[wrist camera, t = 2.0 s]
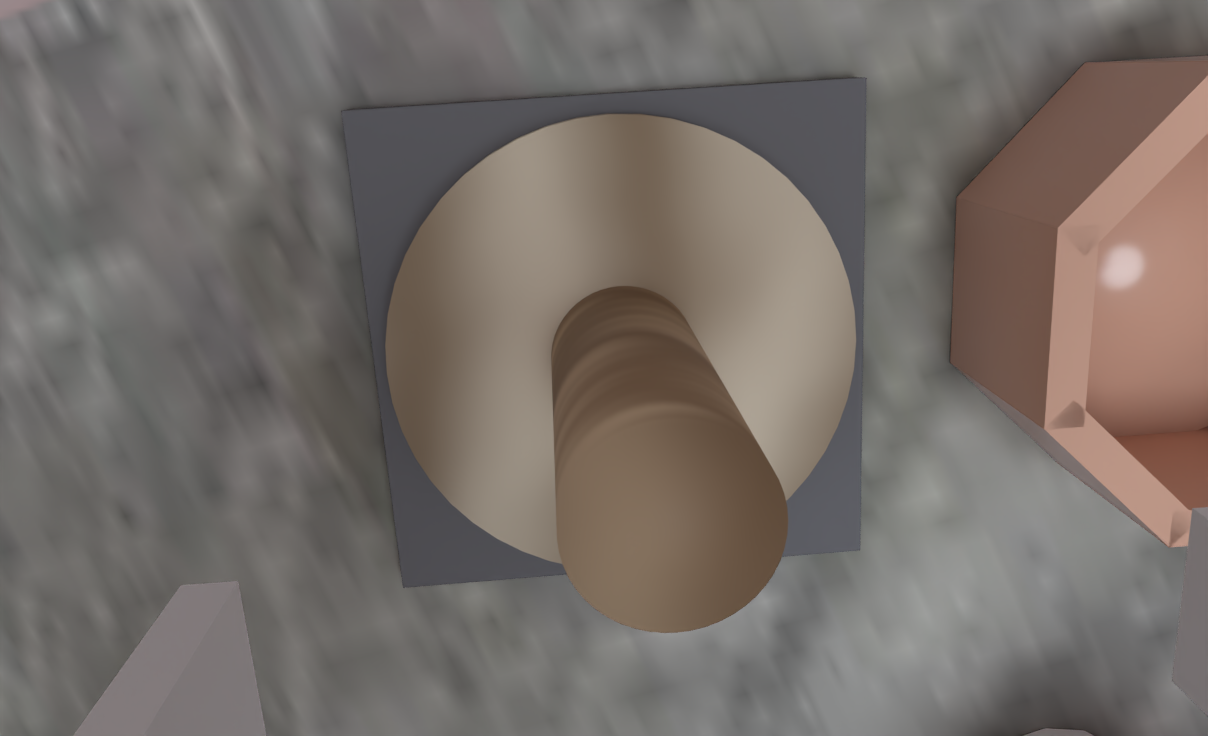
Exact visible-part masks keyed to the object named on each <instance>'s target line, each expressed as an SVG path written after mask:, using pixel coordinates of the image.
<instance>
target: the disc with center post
mask: <svg viewBox="0 0 1208 736" xmlns="http://www.w3.org/2000/svg"><path fill="white" fill-rule="evenodd" d="M385 349H386V366H387V377H388V382H389V388H390V393H391V398H392V403H393V406H394V409H395V412H396V415H397V418H398V421H399V424H400V427H401V430H402V432H403V434H404V436H405V438H406V440H407V442H408V444H409V446H410V448H411V450H412V452H413V454H414V456H415V458H416V460H417V461H418V463H419V464H420V466H421V467H422V469H423V470H424V471H425V473H426V474H427V476H428V477H429V479H430V480H431V482H432V483H433V484H434V485H435V486H436V487H437V489H438V490H439V491H440V492H441V493H442V494H443V495H444V496H445V498H446V499H447V500H448V501H449V502H450V503H451V504H452V505H453V506H454V507H455V508H456V509H458V510H459V511H460V512H461V513H462V514H463V515H465V516H466V517H467V518H468V519H469V520H470V521H471V522H473V523H474V524H476V525H477V526H479V527H480V528H482V529H483V530H485V531H486V532H488V533H489V534H491V535H492V536H494V537H495V538H497V539H498V540H500V541H502V542H504V543H507V544H509V545H511V546H513V547H515V548H517V549H519V550H521V551H523V552H525V553H528V554H531V555H534V556H537V557H540V558H542V559H545V560H548V561H552V562H556V563H561V564H563V567H564V569H565V571H566V573H567V575H568V578H569V579H570V581H571V582H572V584H573V585H574V587H575V588H576V590H577V591H578V592H579V593H580V595H581V596H582V597H583V598H584V599H585V600H586V601H587V602H588V603H589V604H590V605H591V606H593V607H594V608H595V609H596V610H597V611H599V612H600V613H602V614H604V615H605V616H607V617H608V618H610V619H612V620H614V621H616V622H618V623H620V624H623V625H626V626H629V627H632V628H635V629H639V630H644V631H649V632H660V633H674V632H684V631H691V630H695V629H699V628H703V627H707V626H709V625H712V624H714V623H717V622H719V621H722V620H723V619H725V618H727V617H729V616H731V615H733V614H734V613H736V612H737V611H739V610H740V609H742V608H743V607H744V606H746V605H747V604H748V603H749V602H750V601H751V600H753V599H754V598H755V597H756V596H757V595H758V594H759V592H760V591H761V590H762V589H763V588H764V587H765V586H766V584H767V583H768V581H769V580H770V578H771V577H772V575H773V574H774V572H775V570H776V568H777V566H778V564H779V562H780V560H781V557H782V554H783V551H784V548H785V544H786V539H787V534H788V510H787V503H786V501H787V500H788V499H789V498H790V497H791V496H792V495H793V493H794V492H795V491H796V490H797V489H798V488H799V486H800V485H801V484H802V483H803V482H804V481H805V480H806V478H807V477H808V476H809V475H810V473H811V472H812V470H813V469H814V467H815V466H816V464H817V463H818V461H819V460H820V458H821V457H822V455H823V454H824V452H825V451H826V449H827V447H828V445H829V443H830V441H831V439H832V437H833V435H834V433H835V431H836V429H837V427H838V425H839V422H840V419H841V416H842V413H843V410H844V408H845V405H846V402H847V399H848V395H849V390H850V386H851V381H852V376H853V372H854V362H855V350H856V327H855V310H854V305H853V300H852V295H851V290H850V284H849V280H848V277H847V274H846V271H845V268H844V265H843V262H842V260H841V257H840V254H839V251H838V249H837V247H836V245H835V244H834V242H833V240H832V238H831V236H830V234H829V232H828V230H827V228H826V226H825V224H824V223H823V221H822V220H821V218H820V217H819V216H818V214H817V213H816V211H815V210H814V208H813V207H812V205H811V204H810V203H809V201H808V200H807V199H806V198H805V197H804V196H803V194H802V193H801V192H800V191H799V190H798V189H797V188H796V187H795V186H794V185H793V184H792V182H791V181H790V180H789V179H788V178H787V177H786V176H784V175H783V174H782V173H781V172H780V171H778V170H777V169H776V168H775V167H773V166H772V165H771V164H770V163H769V162H767V161H766V160H765V159H764V158H762V157H761V156H759V155H757V154H756V153H754V152H753V151H751V150H749V149H748V148H746V147H744V146H743V145H741V144H740V143H738V142H736V141H734V140H732V139H730V138H727V137H725V136H723V135H720V134H718V133H716V132H714V131H711V130H709V129H707V128H704V127H701V126H697V125H694V124H690V123H687V122H683V121H680V120H676V119H673V118H667V117H660V116H653V115H646V114H610V113H608V114H600V115H593V116H585V117H577V118H573V119H569V120H566V121H562V122H558V123H555V124H551V125H547V126H544V127H542V128H540V129H537V130H535V131H533V132H530V133H528V134H525V135H523V136H521V137H518V138H516V139H514V140H513V141H511V142H509V143H508V144H506V145H504V146H503V147H501V148H499V149H498V150H496V151H494V152H492V153H491V154H489V155H488V156H487V157H485V158H484V159H483V160H481V161H480V162H479V163H478V164H476V165H475V166H474V167H473V168H471V169H470V170H469V171H468V172H466V173H465V174H464V175H463V176H462V177H461V178H460V179H459V180H458V181H457V182H456V183H455V184H454V185H453V186H452V187H451V188H450V190H449V191H448V192H447V193H446V194H445V195H444V196H443V197H442V198H441V199H440V201H439V202H438V203H437V205H436V206H435V207H434V209H433V210H432V211H431V213H430V214H429V216H428V217H427V218H426V220H425V221H424V222H423V224H422V225H421V227H420V228H419V230H418V232H417V234H416V236H415V238H414V240H413V241H412V243H411V245H410V247H409V249H408V251H407V253H406V254H405V257H404V260H403V262H402V265H401V268H400V270H399V273H398V276H397V278H396V281H395V284H394V288H393V293H392V297H391V302H390V306H389V311H388V317H387V329H386V342H385Z"/></svg>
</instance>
